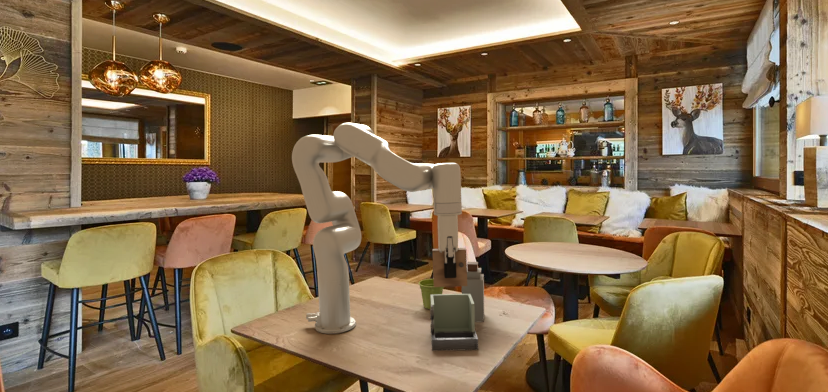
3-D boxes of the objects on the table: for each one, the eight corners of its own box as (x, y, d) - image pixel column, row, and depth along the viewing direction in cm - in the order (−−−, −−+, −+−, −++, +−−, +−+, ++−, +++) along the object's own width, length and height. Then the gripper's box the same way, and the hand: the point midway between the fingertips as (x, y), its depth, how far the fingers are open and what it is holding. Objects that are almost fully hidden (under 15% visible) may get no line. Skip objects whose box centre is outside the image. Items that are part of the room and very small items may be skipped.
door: (434, 288, 111) (432, 251, 110) (433, 284, 114) (432, 248, 113) (467, 287, 111) (466, 250, 110) (466, 283, 114) (465, 247, 113)
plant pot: (450, 304, 147) (449, 280, 146) (437, 313, 139) (436, 288, 139) (427, 300, 152) (427, 277, 151) (413, 308, 144) (413, 284, 144)
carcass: (432, 342, 116) (431, 304, 115) (431, 330, 125) (430, 294, 124) (475, 342, 116) (474, 303, 115) (470, 329, 125) (470, 293, 124)
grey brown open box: (431, 350, 112) (430, 310, 111) (430, 341, 117) (429, 303, 116) (478, 349, 111) (477, 309, 111) (475, 340, 117) (475, 302, 116)
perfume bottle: (483, 322, 131) (482, 265, 129) (462, 320, 132) (461, 265, 131) (484, 314, 137) (483, 260, 136) (463, 313, 139) (462, 260, 137)
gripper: (432, 206, 119) (435, 269, 121) (434, 212, 103) (437, 285, 105) (458, 205, 119) (461, 268, 121) (464, 211, 103) (467, 284, 105)
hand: (450, 275), depth 113 cm, fingers closed on door, 2 cm apart
